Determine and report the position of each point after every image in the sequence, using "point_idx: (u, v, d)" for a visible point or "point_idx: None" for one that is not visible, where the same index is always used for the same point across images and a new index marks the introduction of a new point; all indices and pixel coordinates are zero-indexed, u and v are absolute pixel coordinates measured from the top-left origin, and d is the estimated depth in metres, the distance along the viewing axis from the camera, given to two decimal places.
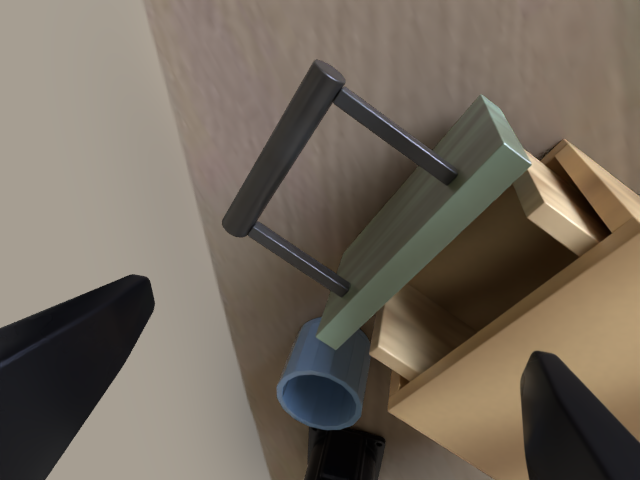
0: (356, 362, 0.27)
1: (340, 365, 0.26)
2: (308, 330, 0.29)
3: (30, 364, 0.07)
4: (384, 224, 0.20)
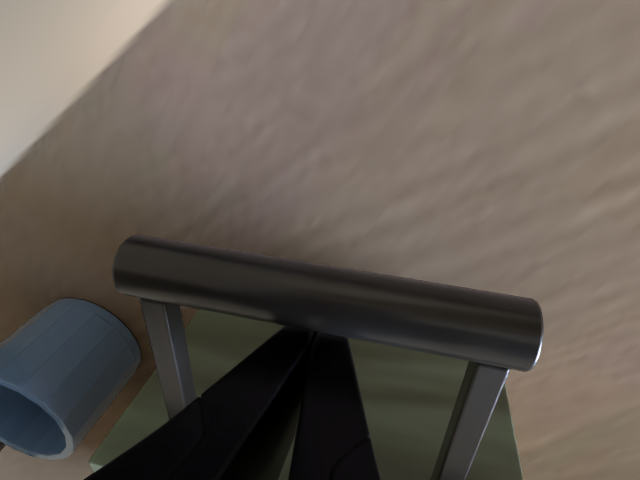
0: (104, 404, 0.19)
1: (84, 409, 0.18)
2: (82, 322, 0.19)
3: (266, 421, 0.06)
4: None
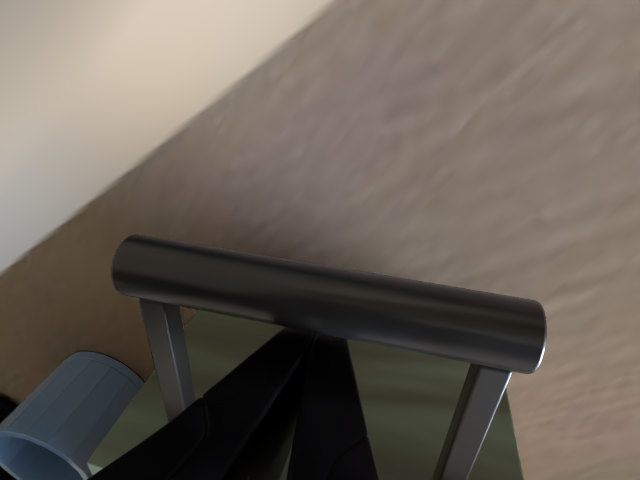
0: None
1: None
2: (100, 376, 0.21)
3: (268, 422, 0.06)
4: None
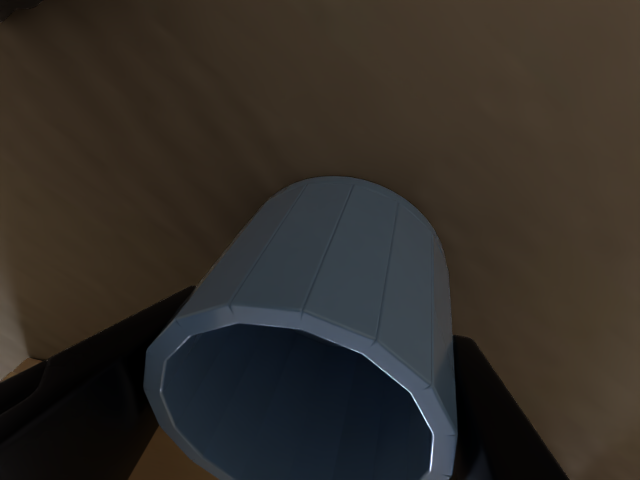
0: None
1: None
2: None
3: (109, 383, 0.07)
4: None
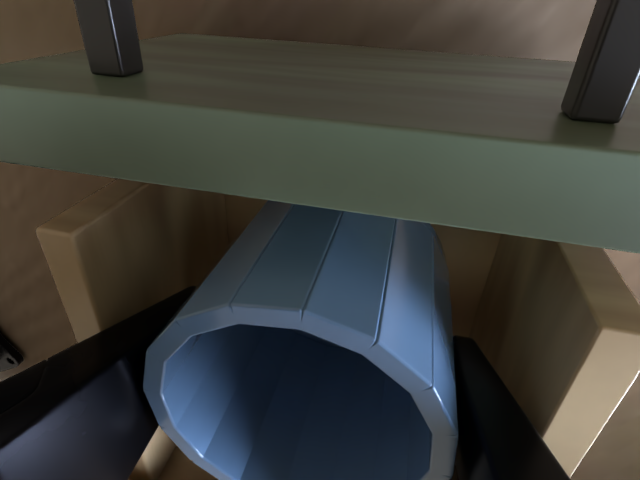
0: None
1: None
2: None
3: (109, 383, 0.07)
4: (308, 59, 0.09)
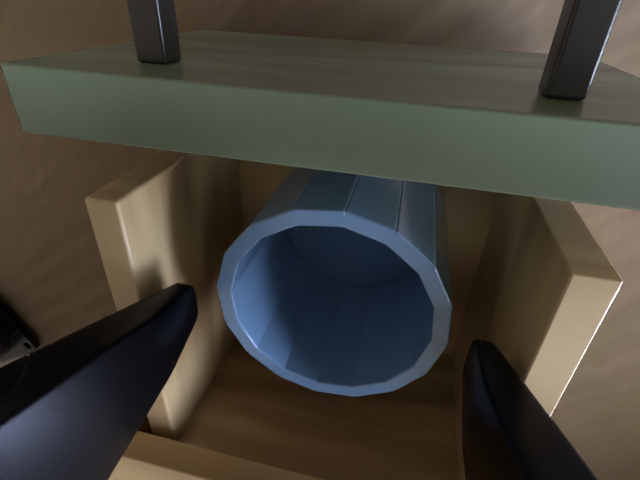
0: None
1: None
2: None
3: (89, 378, 0.07)
4: (320, 51, 0.10)
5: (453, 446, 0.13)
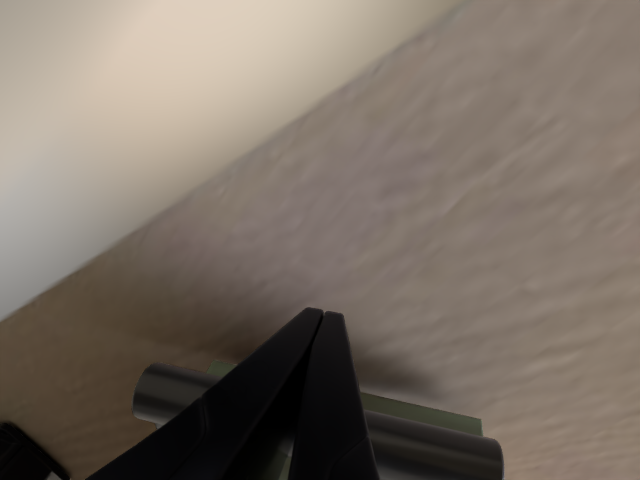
0: None
1: None
2: None
3: (267, 421, 0.06)
4: None
5: None
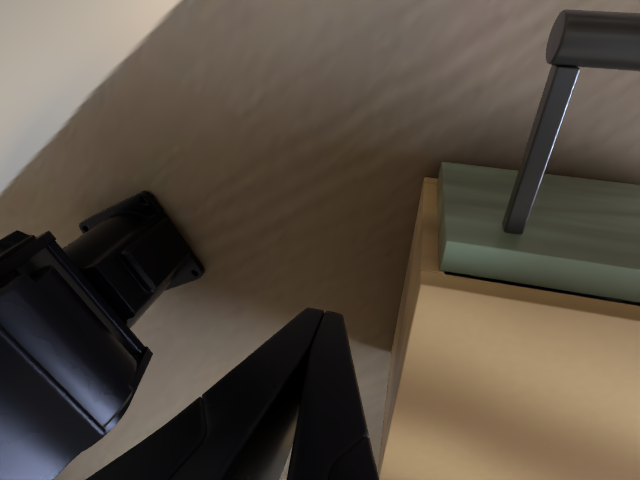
0: None
1: None
2: None
3: (267, 421, 0.06)
4: (564, 201, 0.16)
5: None
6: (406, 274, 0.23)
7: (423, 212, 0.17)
